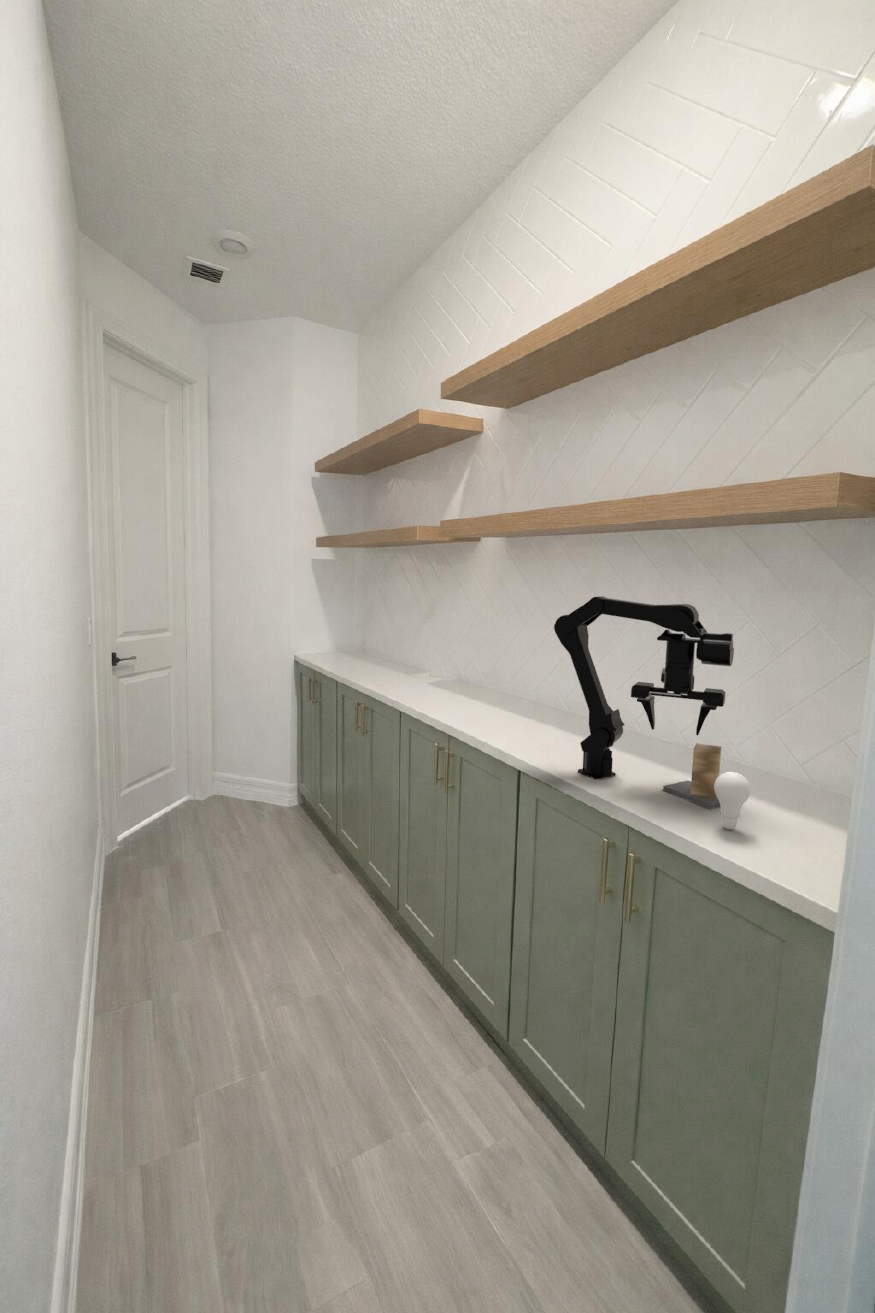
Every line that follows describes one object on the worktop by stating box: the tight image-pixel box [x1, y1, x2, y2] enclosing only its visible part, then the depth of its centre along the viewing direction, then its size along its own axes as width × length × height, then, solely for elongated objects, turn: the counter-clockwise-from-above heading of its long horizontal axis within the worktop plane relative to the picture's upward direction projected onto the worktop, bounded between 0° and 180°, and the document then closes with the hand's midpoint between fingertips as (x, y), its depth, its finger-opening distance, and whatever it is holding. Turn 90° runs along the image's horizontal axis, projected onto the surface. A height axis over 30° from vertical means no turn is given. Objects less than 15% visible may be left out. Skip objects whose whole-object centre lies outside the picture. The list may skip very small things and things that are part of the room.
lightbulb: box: [714, 771, 751, 830], centre depth 112 cm, size 6×6×11 cm
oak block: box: [690, 742, 722, 799], centre depth 128 cm, size 5×5×10 cm
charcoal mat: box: [662, 780, 721, 810], centre depth 129 cm, size 12×8×1 cm, turn 29°
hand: (674, 732), depth 132 cm, fingers open, 9 cm apart
